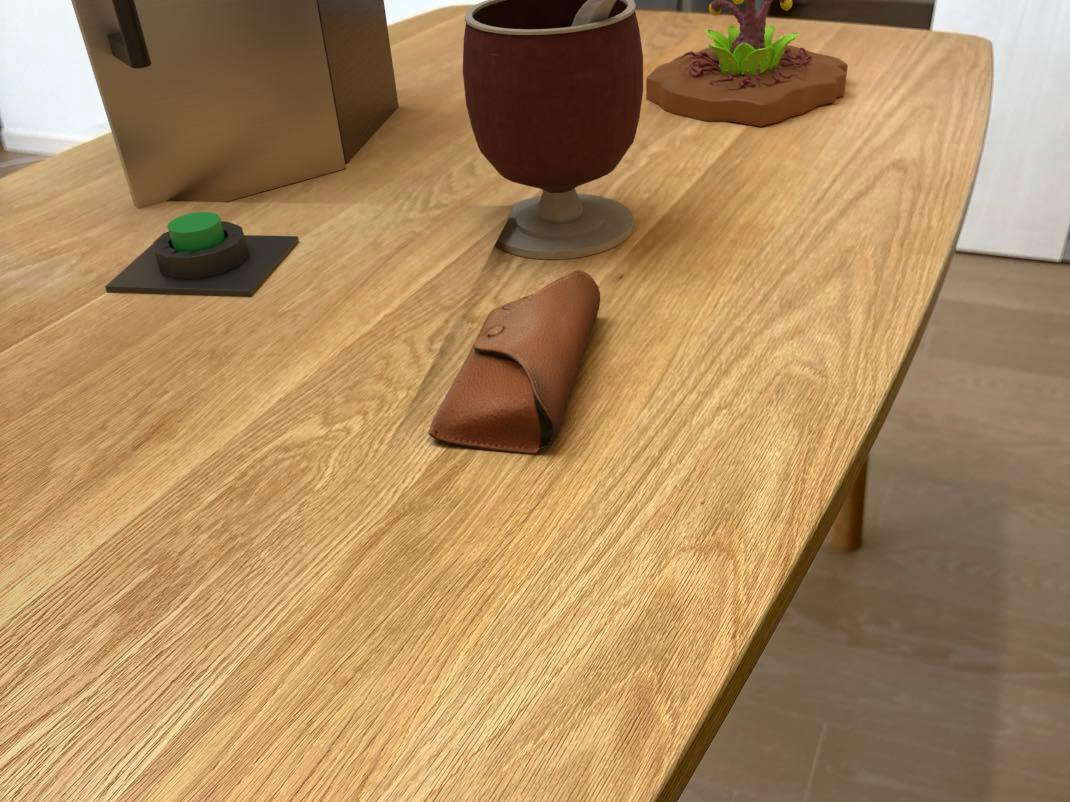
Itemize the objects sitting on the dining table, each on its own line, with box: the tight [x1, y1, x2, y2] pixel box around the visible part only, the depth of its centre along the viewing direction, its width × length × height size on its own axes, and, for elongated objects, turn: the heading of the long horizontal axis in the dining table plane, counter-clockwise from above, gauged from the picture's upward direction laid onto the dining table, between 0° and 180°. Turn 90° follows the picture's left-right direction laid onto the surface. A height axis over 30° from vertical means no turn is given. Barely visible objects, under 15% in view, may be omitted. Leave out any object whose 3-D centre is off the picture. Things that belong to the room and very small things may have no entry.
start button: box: [167, 211, 225, 251], centre depth 83 cm, size 4×4×2 cm
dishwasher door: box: [70, 0, 347, 210], centre depth 91 cm, size 7×20×24 cm, turn 124°
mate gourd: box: [462, 0, 644, 260], centre depth 84 cm, size 16×14×20 cm
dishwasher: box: [316, 0, 400, 166], centre depth 107 cm, size 18×20×24 cm
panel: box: [105, 220, 300, 298], centre depth 85 cm, size 12×10×4 cm
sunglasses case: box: [427, 269, 601, 455], centre depth 70 cm, size 18×7×7 cm, turn 169°
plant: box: [645, 0, 849, 128], centre depth 112 cm, size 20×20×11 cm
